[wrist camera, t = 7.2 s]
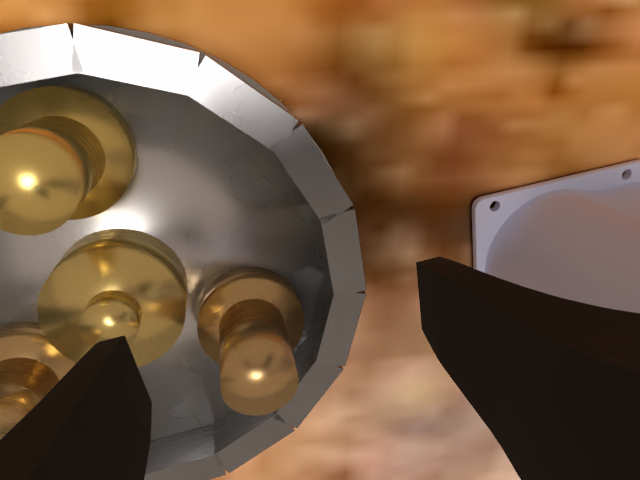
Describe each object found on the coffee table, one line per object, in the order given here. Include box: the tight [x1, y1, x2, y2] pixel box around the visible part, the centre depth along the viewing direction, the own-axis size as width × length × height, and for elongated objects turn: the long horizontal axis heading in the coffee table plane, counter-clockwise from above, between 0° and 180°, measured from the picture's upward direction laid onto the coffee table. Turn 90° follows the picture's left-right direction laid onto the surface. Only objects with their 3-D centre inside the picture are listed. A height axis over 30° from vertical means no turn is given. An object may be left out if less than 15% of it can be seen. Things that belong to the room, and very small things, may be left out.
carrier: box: [0, 23, 366, 480], centre depth 18 cm, size 20×20×6 cm
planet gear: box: [0, 84, 137, 236], centre depth 15 cm, size 5×5×5 cm
